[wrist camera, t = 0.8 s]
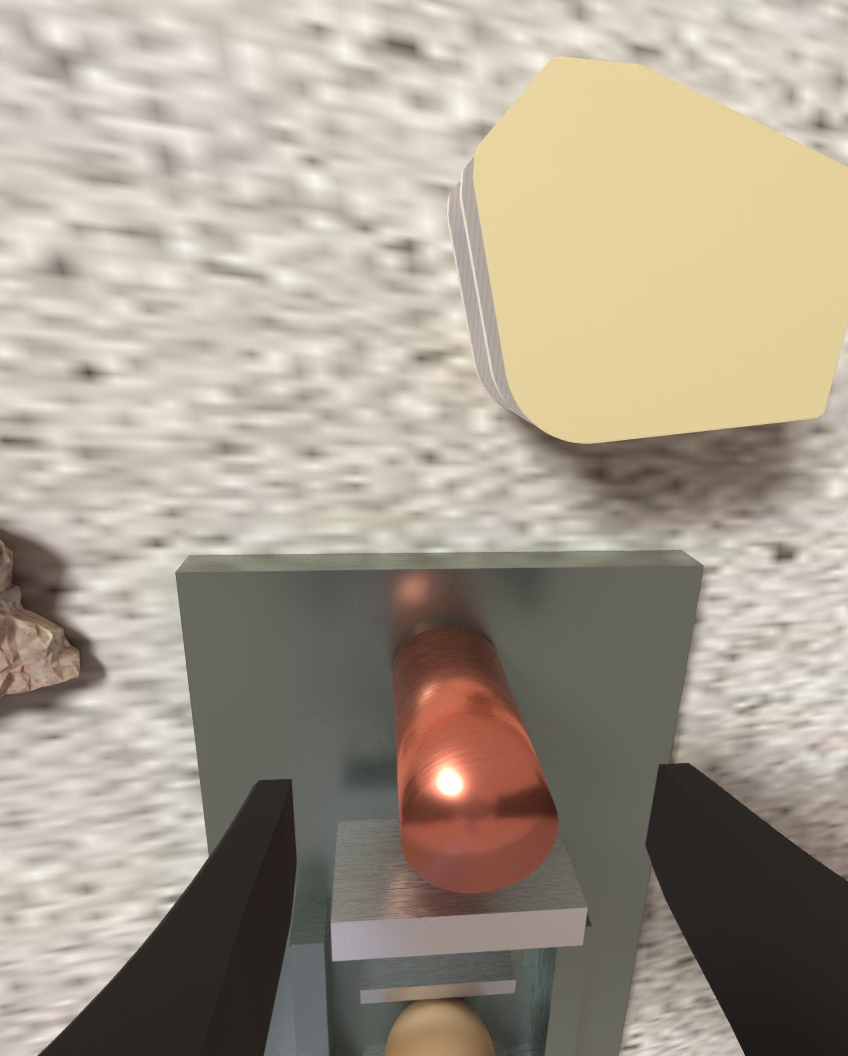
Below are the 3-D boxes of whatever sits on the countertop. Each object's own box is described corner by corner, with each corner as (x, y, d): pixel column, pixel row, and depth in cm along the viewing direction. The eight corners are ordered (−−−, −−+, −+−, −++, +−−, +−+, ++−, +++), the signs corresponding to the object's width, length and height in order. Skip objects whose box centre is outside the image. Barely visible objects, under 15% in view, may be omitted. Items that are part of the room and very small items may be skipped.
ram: (538, 823, 18) (604, 1018, 13) (341, 833, 18) (327, 1038, 13) (558, 622, 16) (645, 760, 11) (334, 627, 16) (316, 773, 11)
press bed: (602, 1043, 24) (673, 1263, 18) (245, 1071, 23) (203, 1315, 17) (682, 550, 18) (829, 654, 12) (189, 555, 16) (91, 673, 11)
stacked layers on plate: (794, 107, 15) (1027, -16, 9) (718, 469, 17) (866, 530, 12) (379, 67, 14) (383, -93, 8) (369, 457, 16) (367, 517, 11)
